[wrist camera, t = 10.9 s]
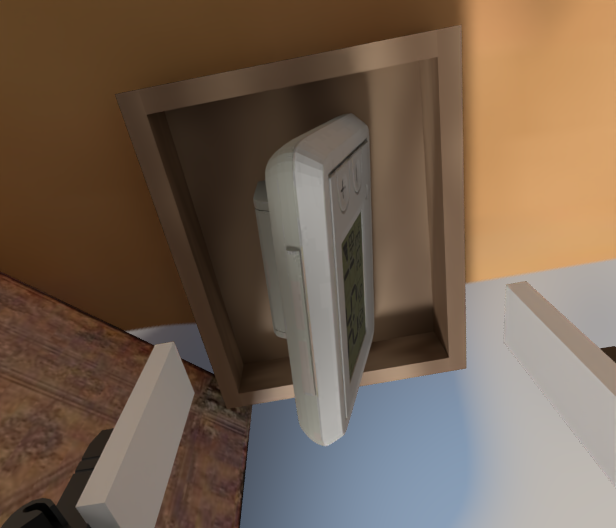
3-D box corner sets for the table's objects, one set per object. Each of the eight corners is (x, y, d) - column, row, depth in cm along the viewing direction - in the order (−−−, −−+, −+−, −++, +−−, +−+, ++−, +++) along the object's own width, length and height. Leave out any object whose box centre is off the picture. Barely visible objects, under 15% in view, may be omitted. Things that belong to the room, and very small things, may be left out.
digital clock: (366, 340, 31) (401, 458, 22) (249, 332, 30) (230, 451, 21) (412, 118, 24) (492, 147, 15) (262, 101, 24) (244, 120, 14)
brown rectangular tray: (434, 32, 23) (461, 24, 20) (446, 335, 32) (466, 368, 29) (141, 91, 24) (114, 94, 20) (233, 372, 33) (226, 409, 29)
